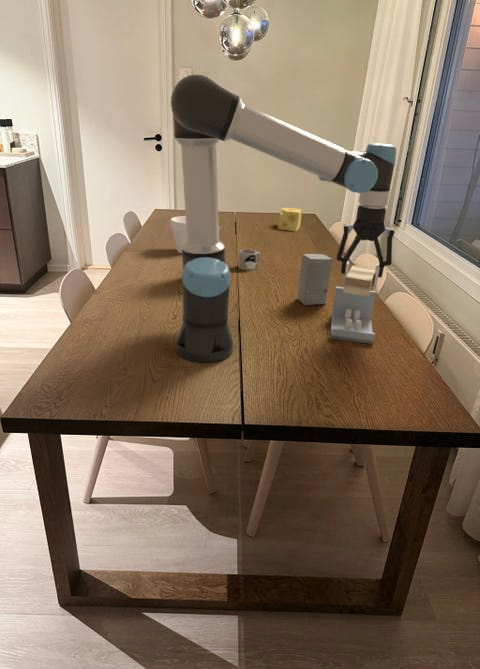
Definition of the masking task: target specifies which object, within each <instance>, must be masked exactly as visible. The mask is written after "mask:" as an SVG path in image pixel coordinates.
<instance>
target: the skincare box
mask: <svg viewBox="0 0 480 669" xmlns="http://www.w3.org/2000/svg"><path fill="white" fill-rule="evenodd" d="M332 262H333V259H332V258H331V257H329V256H327V255H326V254H324V253H323V254H322V253H321V254H320V253H319V254H316V253H303V254H302V256H301V264H300V266H301V267H300V273H299V279H298V280H299V281H298V287H297V295H296V296H297V297H296V299H298V301H300V302H301V303H302V305H304V306H310V305H312V306H313V305H325V304H326V301H327V295H328V289H329V282H330V275H331V269H332Z"/></svg>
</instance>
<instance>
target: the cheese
mask: <svg viewBox="0 0 480 669" xmlns="http://www.w3.org/2000/svg"><path fill="white" fill-rule="evenodd" d="M302 212H303V210H302V209H301V208H293V207H282V208H281V210H280V214H279V216H278V223H277V230H280V231H282V230H283V231H289V232H295V233H296V232H297V231H298V230H299V229H300V228H301V227H300V226H301V221H302Z"/></svg>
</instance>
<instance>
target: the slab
mask: <svg viewBox="0 0 480 669" xmlns="http://www.w3.org/2000/svg"><path fill="white" fill-rule="evenodd" d="M375 269H376V268H372V267H368V266H367V267H365V266H359V265H352V266H351V268H350V269H348V274H347V275H346V277H345V283H344V286H343V287H344V289H343V292H345V293H351V294H356V295H362V296H367V297H368V296H369V294H370V292H371V291H372V289H373V281H374V275H375Z"/></svg>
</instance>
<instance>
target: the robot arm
mask: <svg viewBox="0 0 480 669" xmlns="http://www.w3.org/2000/svg"><path fill="white" fill-rule="evenodd" d="M170 107H171V112H172V118H173V130H174V133H173V134H174V135H173V136H174V140H175V141H177V142H178V144H179V145H180V147H181V160H182V162H181V164H182V176H183V177H182V178H183V196H184V212H185V213H184V214H185V215H184V216H186V231H187V241H186V243H185V244H184V245H183V246H182V253H181V254H182V275H181V279H182V280H181V281H182V323H181V325H180V328H179V332H178V334H177V337H176V339H175V340H176V341H175V351H176V353H177V354H178V355H179V356H180V357H181V358H183V359H186V360H188V361H190V362H191V361H192V362H197V363H214V362H220V361H222V360H225V359H227V358H228V357H230V356H231V355H232V354H233V351H234V341H233V336H232V334H231V333H232V332H231V330H230V326H229V322H228V320H229V319H228V317H229V304H230V303H229V298H230V297H229V296H230V284H231V274H230V273H231V270H230V267H229V265H228V264H227V263H226V246H225V244H224V243H222V242H221V241H220V240H219V199H218V198H219V194H218V193H219V192H218V190H219V189H218V165H217V162H218V161H217V160H218V159H217V145H218V143H219V142H220V141H223V142H226V141H229V140H233V141H235V142H237V143H240V144H242V145H244V146H247V147H249V148H252V149H254V150H255V151H259V152H261V153H264V154H266V155H268V156H270V157H273V158H275V159H278V160H280V161H282V162H284V163H287V164H289V165H292V166H294V167H297V168H299V169H301V170H303V171H307V172H309V173H310V174H314V175H315V176H317V178H318V179H319V180H320V181H323V182H328V183H331V182H332V183H333V184H336V185H339V186H341V187H344V188H345V189H347V190H349V191H350V192H352V193H357V194H359V198H358V203H359V205H358V206H357V210H356V217H355V222H354V223H353V224H347V223H345V224H343V234H342V237H341V241H340V244H339V247H338V250H337V253H336V260H337V261H339V262H341V268H340V273H341V274H343V275H344V276H343V281H342V282H343V283H342V284H343V285H342V287H344V283H345V277H346V275H347V274H348V272H349V270H350V269H349V268H350V261H349V259H350V258H351V256H352V254H353V253H354V251H355V250H356V248H357V247H358V245H359V244H360V242H361V241H370V242H373V243H374V244H373V245H374V246H375V250H376V256H377V258H378V263H379V264H377V263H376V264H375V268H374V269H375V275H374V281H373V287H372V289H373V290H376V289H377V285H378V279H379V278H382V277H383V274H384V268H385V267H386V266H391V265H392V262H393V261H392V260H393V259H392V256H393V255H392V254H393V251H392V250H393V238H394V235H395V229H394V228H393V227H391V228H388V227H386V226H385V219H386V214H387V211H388V210H387V208H386V207H387V206H388V203H389V198H390V191H391V184H392V180H393V175H394V170H395V166H396V160H397V159H396V158H397V148H396V146H395V145H393V144H390V143H378V142H377V143H376V142H374V143H373V142H372V143H369V144H367V145H366V149H365V151H350V150H347V149H344V148H343V147H341V146H338V145H336V144H334V143H332V142H330V141H327V140H325V139H322V138H320V137H318V136H316V135H314V134H311V133H309V132H307V131H305V130H302V129H300V128H298V127H295V126H294V125H291V124H289V123H286V122H285V121H283V120H280V119H278V118H276V117H273V116H272V115H270V114H267V113H265V112H263V111H261V110H258V109H256V108H253V107H251V106H249V105H247V104H245V103H243V100H242V97H241V96H239V95H237V94H235V93H233V92H231V91H230V90H229V91H228V90H227V89H225V88H224V87H222V86H221V85H219V84H217V83H216V82H215V81H214V80H212V79H211V78H209V77H208V76H205V75H202V74H191V75H187V76H184V77H183V78H182V79H180V80H179V81H178V82H177V83H176V84H175V85H174V88H173V90H172V93H171V96H170ZM352 230H354V232H355V234H356V236H355V237H354V239H353V240H352V243H351V244H350V246H349V247H348V249H347V251H346V252H345V254H344V255H343V253H344V250H345V246H346V243H347V241H348V237H349V234H351V232H352ZM383 233H384V234H385V237H386V256H385V260H384V257H383V253H382V250H381V246H380V242H379V237H380V236H381V235H382V234H383Z"/></svg>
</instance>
